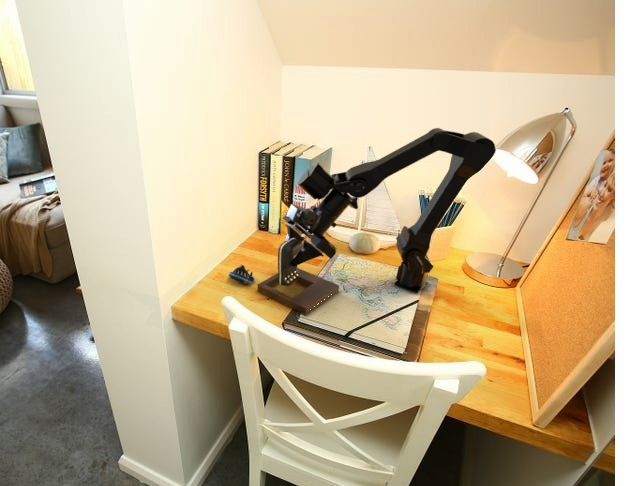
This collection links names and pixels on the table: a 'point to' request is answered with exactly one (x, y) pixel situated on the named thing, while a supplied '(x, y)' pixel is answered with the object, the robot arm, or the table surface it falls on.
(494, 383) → the table surface
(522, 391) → the table surface
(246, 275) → the spaceship
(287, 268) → the battery charger
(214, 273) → the table surface
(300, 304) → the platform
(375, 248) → the sea urchin shell
